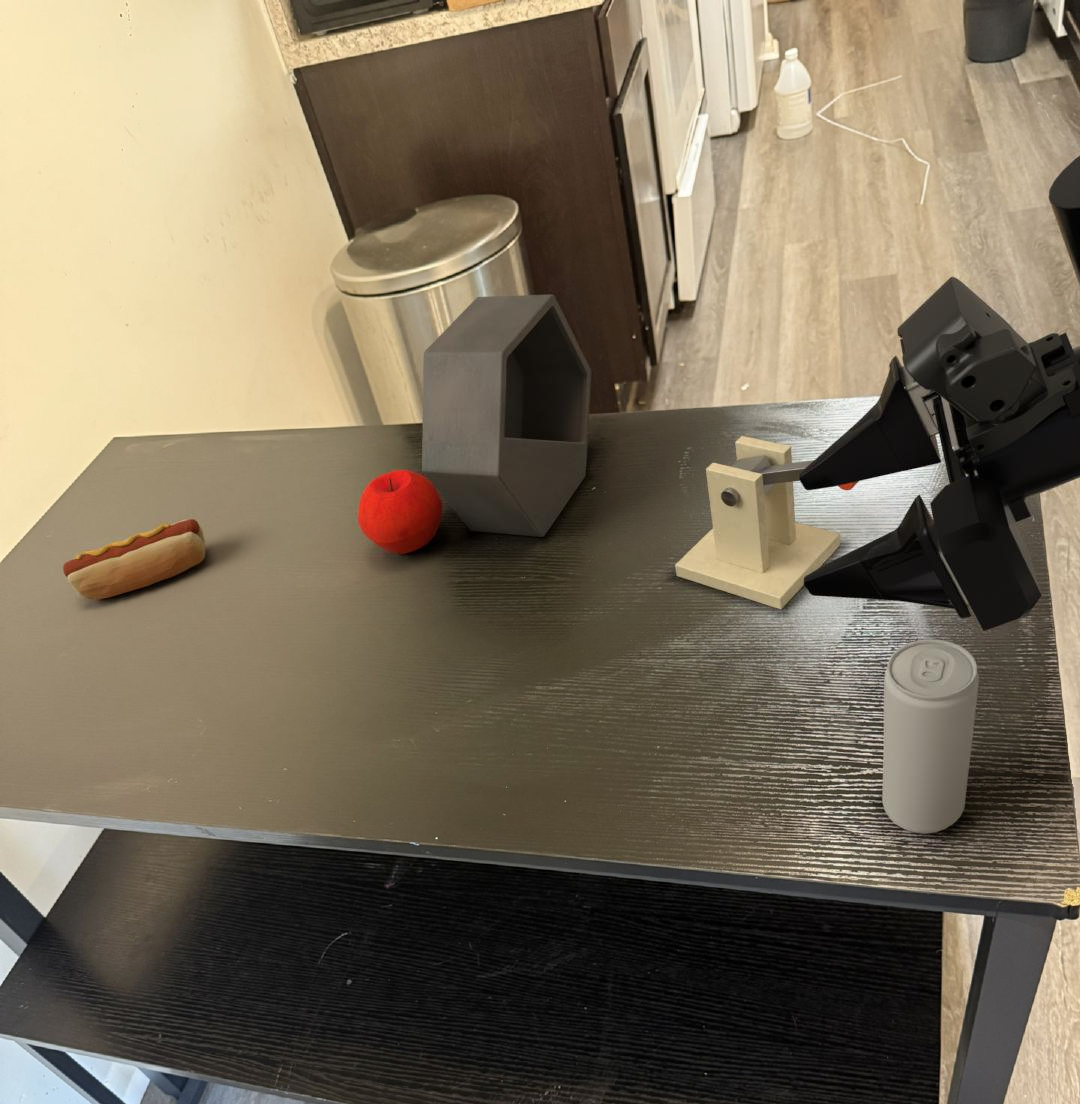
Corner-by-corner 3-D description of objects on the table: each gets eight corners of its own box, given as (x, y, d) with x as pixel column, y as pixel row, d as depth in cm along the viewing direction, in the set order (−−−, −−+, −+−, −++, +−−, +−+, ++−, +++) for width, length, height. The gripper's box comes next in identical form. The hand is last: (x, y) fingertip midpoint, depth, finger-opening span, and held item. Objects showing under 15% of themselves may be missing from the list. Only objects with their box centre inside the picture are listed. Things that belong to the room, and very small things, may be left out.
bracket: (840, 545, 82) (838, 438, 75) (781, 610, 78) (773, 504, 71) (736, 517, 88) (725, 416, 81) (676, 576, 84) (660, 475, 77)
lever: (894, 458, 71) (883, 428, 70) (858, 497, 69) (847, 466, 68) (759, 476, 80) (748, 449, 79) (724, 510, 78) (712, 483, 77)
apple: (408, 580, 92) (382, 513, 87) (356, 557, 97) (328, 492, 92) (469, 533, 96) (447, 465, 90) (415, 512, 100) (391, 447, 95)
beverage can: (970, 786, 63) (986, 643, 55) (956, 846, 60) (972, 705, 52) (890, 772, 65) (894, 632, 57) (873, 829, 62) (875, 691, 54)
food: (83, 616, 100) (55, 577, 97) (86, 587, 104) (59, 548, 101) (216, 569, 101) (193, 528, 98) (214, 541, 105) (192, 501, 102)
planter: (496, 542, 85) (505, 277, 79) (420, 535, 88) (423, 280, 83) (583, 532, 99) (595, 308, 94) (514, 527, 103) (523, 310, 97)
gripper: (1026, 164, 49) (735, 329, 57) (1116, 359, 36) (728, 534, 44) (1093, 349, 55) (821, 474, 63) (1189, 570, 42) (836, 690, 50)
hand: (804, 532), depth 55 cm, fingers open, 9 cm apart
